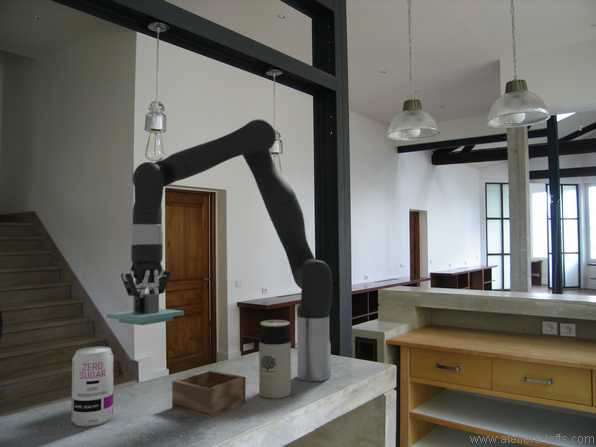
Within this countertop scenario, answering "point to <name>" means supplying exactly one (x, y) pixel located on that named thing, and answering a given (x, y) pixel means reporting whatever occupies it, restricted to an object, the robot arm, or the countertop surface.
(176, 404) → the box
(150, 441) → the countertop surface
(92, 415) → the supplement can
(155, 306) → the lid
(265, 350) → the travel mug
